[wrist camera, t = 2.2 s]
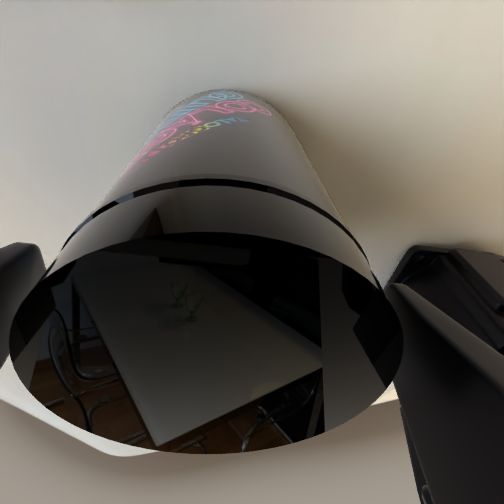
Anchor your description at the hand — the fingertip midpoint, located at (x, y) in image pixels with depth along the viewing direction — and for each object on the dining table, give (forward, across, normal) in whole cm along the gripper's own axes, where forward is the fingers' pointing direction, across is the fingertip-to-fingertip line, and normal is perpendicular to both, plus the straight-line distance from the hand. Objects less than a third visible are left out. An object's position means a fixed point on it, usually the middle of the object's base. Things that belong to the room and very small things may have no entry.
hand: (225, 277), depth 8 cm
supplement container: (+8, 0, 0) cm, 8 cm away
